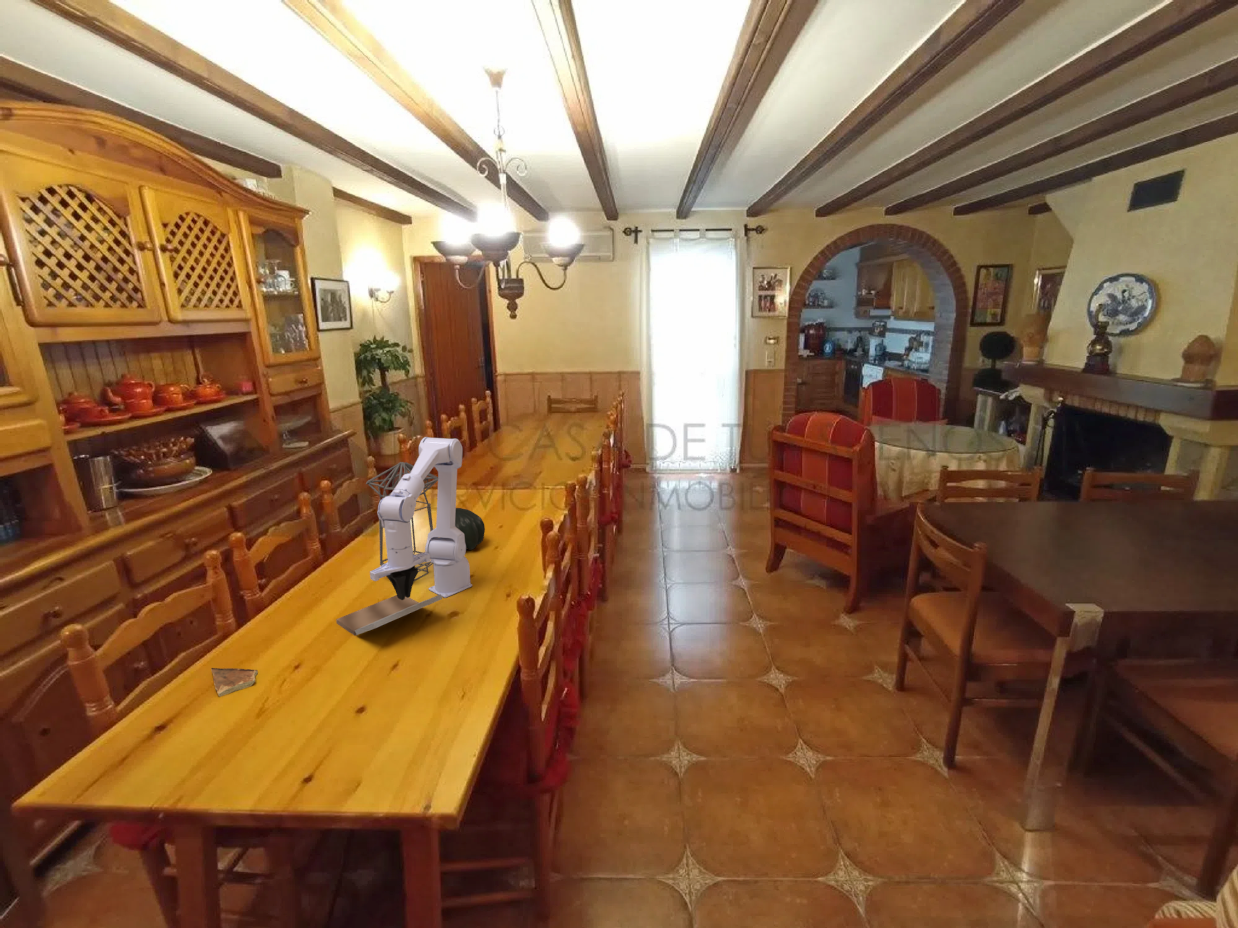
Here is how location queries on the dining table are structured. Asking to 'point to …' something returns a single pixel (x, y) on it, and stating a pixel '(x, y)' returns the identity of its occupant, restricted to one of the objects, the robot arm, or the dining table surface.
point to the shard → (232, 679)
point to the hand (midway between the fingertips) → (403, 597)
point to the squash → (470, 527)
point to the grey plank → (398, 615)
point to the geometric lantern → (431, 483)
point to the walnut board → (374, 613)
